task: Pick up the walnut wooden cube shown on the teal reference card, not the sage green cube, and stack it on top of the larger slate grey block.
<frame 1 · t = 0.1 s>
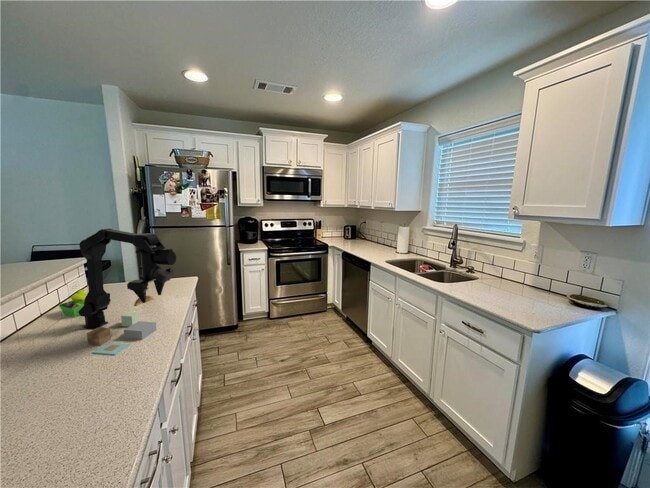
hand: (152, 298, 115), 15 cm above the counter, tool pointing down, fingers open, 9 cm apart
reference card: (112, 349, 102), on the counter
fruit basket: (76, 313, 131), on the counter
walnut cube: (99, 342, 106), on the counter
slate block: (141, 334, 113), on the counter
sage cube: (131, 324, 122), on the counter
shard: (145, 302, 149), on the counter
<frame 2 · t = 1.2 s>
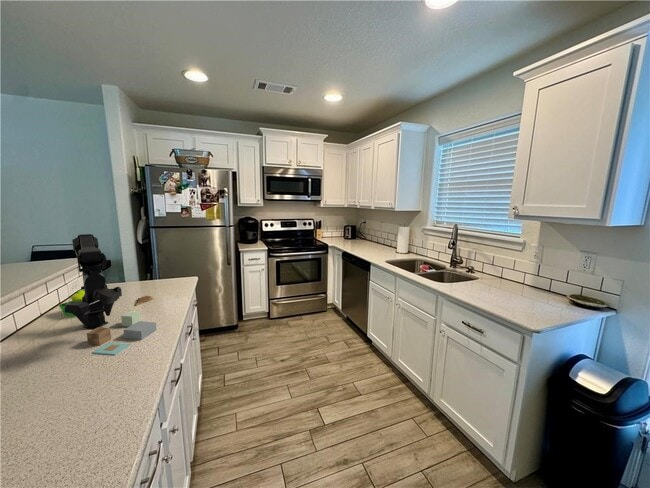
hand: (97, 320, 105), 9 cm above the counter, tool pointing down, fingers open, 9 cm apart
nothing on the counter moved.
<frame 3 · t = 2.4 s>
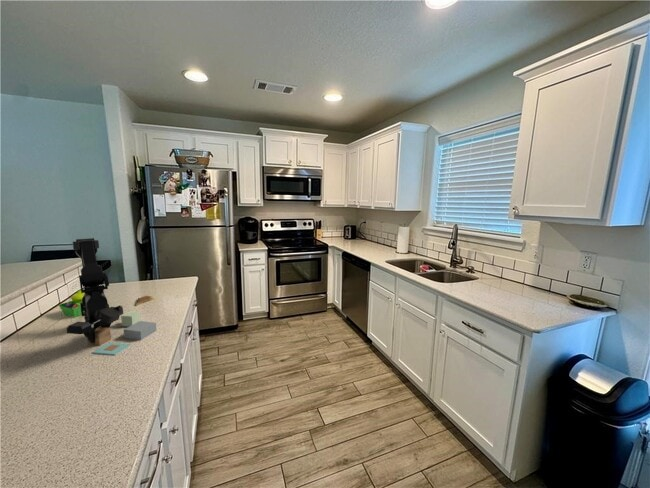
hand: (99, 339, 106), 1 cm above the counter, tool pointing down, fingers closed on walnut cube, 5 cm apart
walnut cube: (99, 341, 106), on the counter, touching gripper
everything else where it was.
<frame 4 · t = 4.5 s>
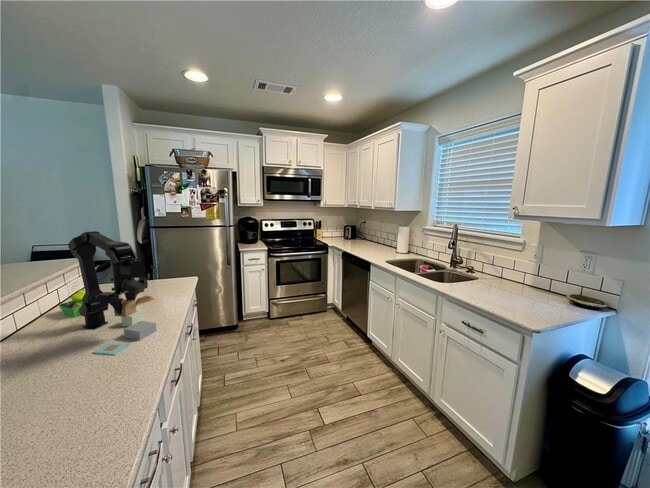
hand: (125, 311, 109), 11 cm above the counter, tool pointing down, fingers closed on walnut cube, 5 cm apart
walnut cube: (125, 313, 109), point 10 cm above the counter, touching gripper
everything else where it was.
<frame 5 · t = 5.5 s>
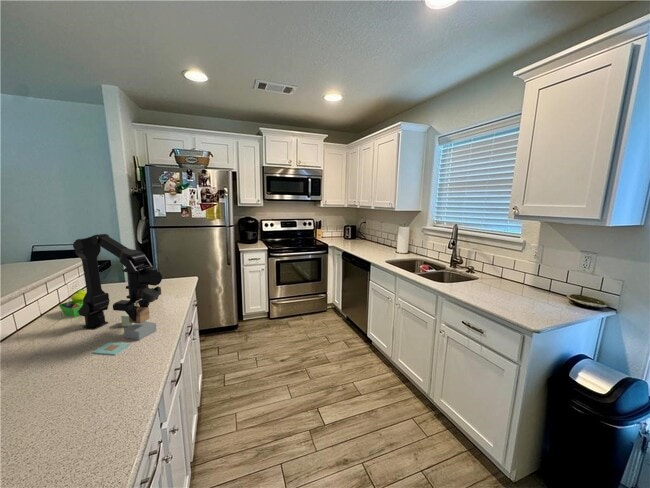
hand: (139, 318, 112), 7 cm above the counter, tool pointing down, fingers closed on walnut cube, 5 cm apart
walnut cube: (139, 320, 112), point 6 cm above the counter, touching gripper
everything else where it was.
when the fingers open (6 cm above the counter, at t = 6.5 s): walnut cube drops 2 cm, resting on slate block.
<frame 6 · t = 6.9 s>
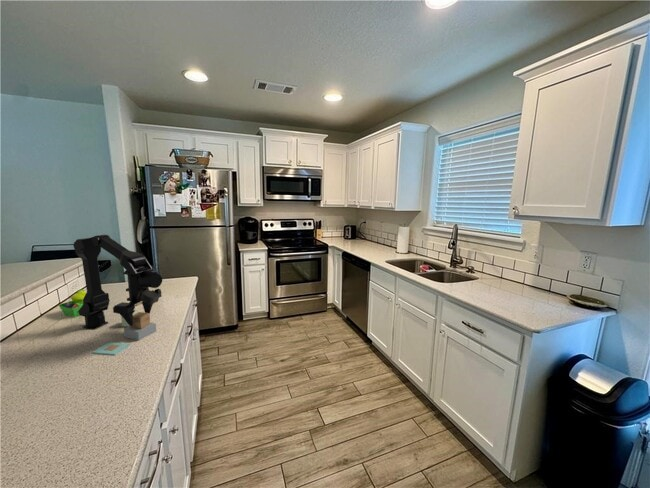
hand: (139, 320, 112), 6 cm above the counter, tool pointing down, fingers open, 9 cm apart
walnut cube: (140, 326, 113), point 4 cm above the counter, touching slate block
slate block: (140, 334, 113), on the counter, touching walnut cube
everything else where it was.
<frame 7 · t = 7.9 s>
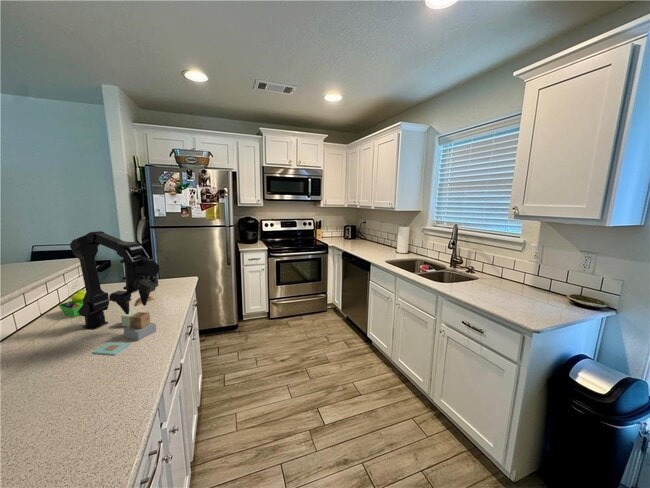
hand: (136, 309, 112), 11 cm above the counter, tool pointing down, fingers open, 9 cm apart
walnut cube: (140, 325, 113), point 4 cm above the counter
slate block: (140, 334, 113), on the counter
everything else where it was.
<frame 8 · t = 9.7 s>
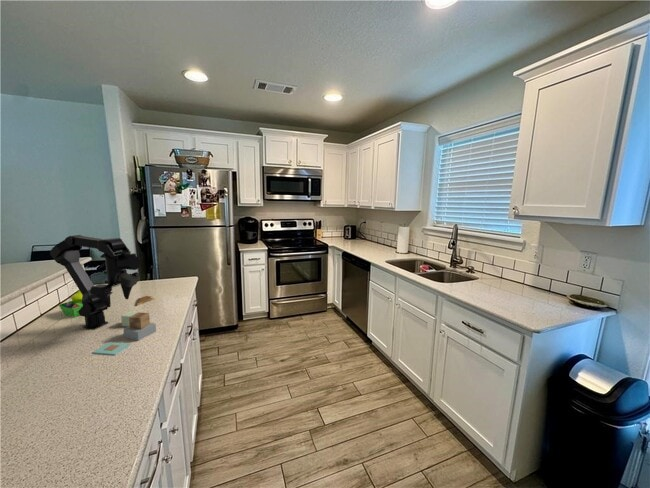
hand: (118, 302, 115), 12 cm above the counter, tool pointing down, fingers open, 9 cm apart
nothing on the counter moved.
at the end: walnut cube 0.1 cm off-centre on the slate block, point 4.0 cm above the slate block's base; walnut cube touching slate block; sage cube moved 0.1 cm from its start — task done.
